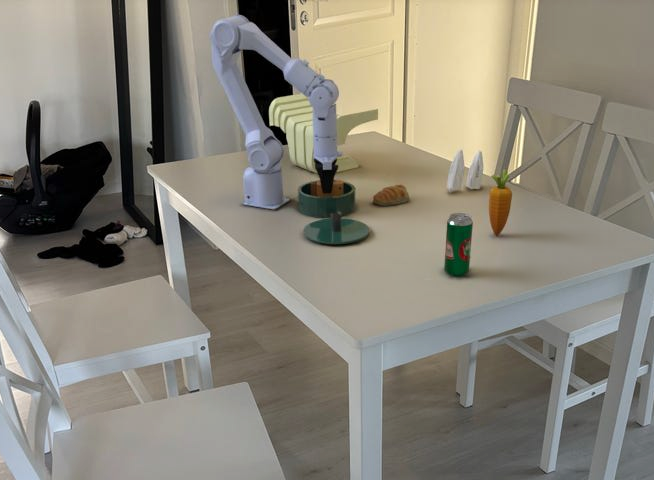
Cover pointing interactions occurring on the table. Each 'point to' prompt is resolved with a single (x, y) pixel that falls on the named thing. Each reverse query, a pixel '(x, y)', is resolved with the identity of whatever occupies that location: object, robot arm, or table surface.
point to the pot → (326, 201)
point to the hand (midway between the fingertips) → (326, 190)
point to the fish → (336, 191)
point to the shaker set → (458, 172)
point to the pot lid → (336, 230)
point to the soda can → (458, 244)
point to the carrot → (499, 203)
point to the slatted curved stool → (311, 129)
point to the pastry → (391, 195)
